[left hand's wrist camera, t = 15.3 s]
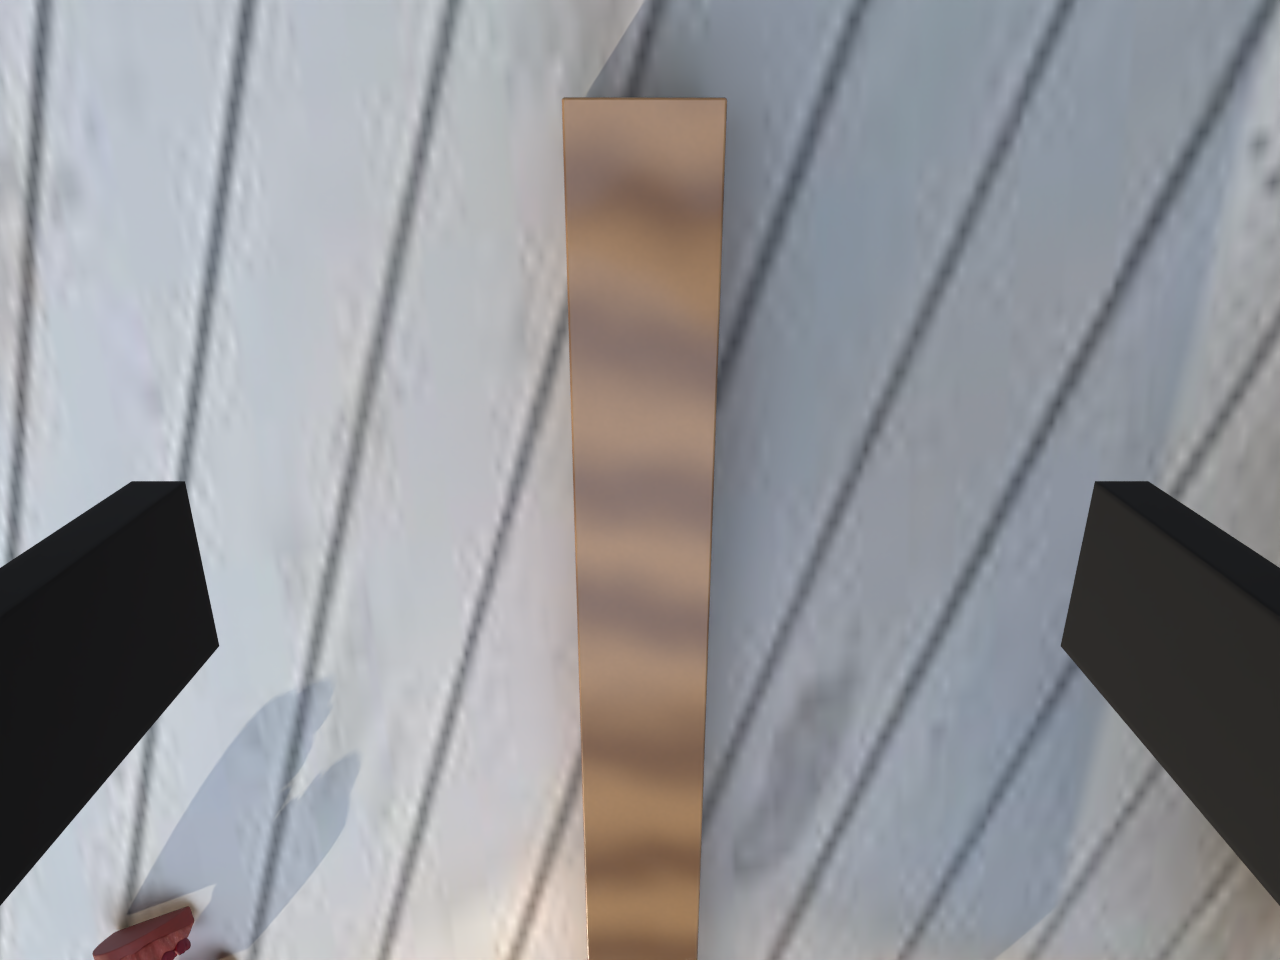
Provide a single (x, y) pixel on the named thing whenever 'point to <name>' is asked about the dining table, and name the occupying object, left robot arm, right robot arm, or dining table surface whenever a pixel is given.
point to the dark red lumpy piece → (149, 939)
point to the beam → (643, 499)
